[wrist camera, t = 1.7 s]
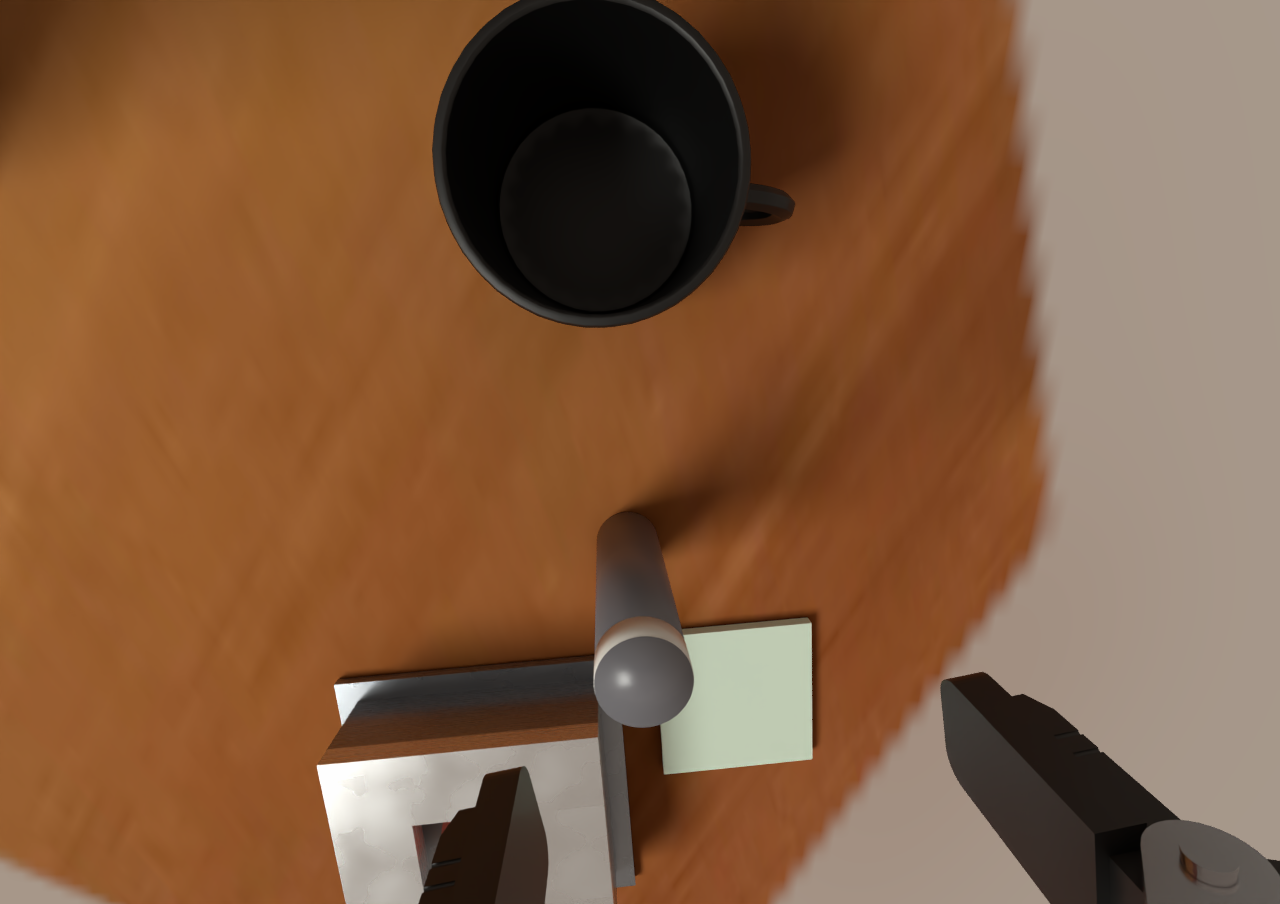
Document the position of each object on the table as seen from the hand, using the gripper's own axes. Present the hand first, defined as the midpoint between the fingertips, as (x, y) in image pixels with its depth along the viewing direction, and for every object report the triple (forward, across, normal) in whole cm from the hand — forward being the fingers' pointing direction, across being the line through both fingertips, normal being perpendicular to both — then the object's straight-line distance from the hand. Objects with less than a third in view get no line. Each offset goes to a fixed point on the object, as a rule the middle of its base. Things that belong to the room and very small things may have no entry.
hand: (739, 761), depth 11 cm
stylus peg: (+18, +2, +2) cm, 19 cm away
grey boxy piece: (+18, +12, +14) cm, 26 cm away
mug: (+19, -1, -13) cm, 22 cm away
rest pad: (+18, -2, +12) cm, 22 cm away
